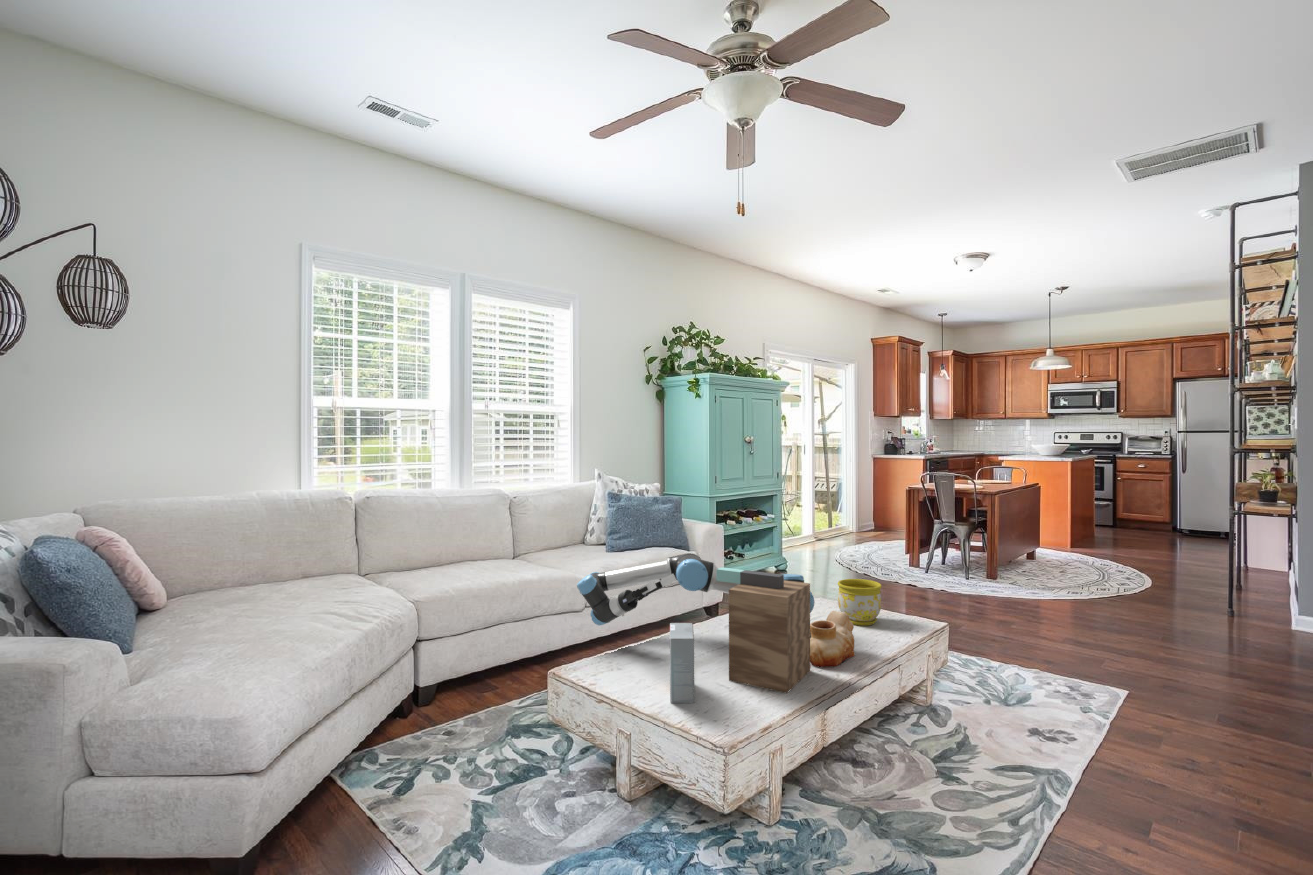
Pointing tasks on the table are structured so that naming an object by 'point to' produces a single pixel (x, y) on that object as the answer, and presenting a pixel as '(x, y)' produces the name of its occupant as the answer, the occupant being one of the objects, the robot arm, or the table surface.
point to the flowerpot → (860, 600)
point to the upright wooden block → (769, 635)
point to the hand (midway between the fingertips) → (664, 580)
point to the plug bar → (750, 578)
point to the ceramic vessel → (831, 640)
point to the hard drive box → (681, 663)
